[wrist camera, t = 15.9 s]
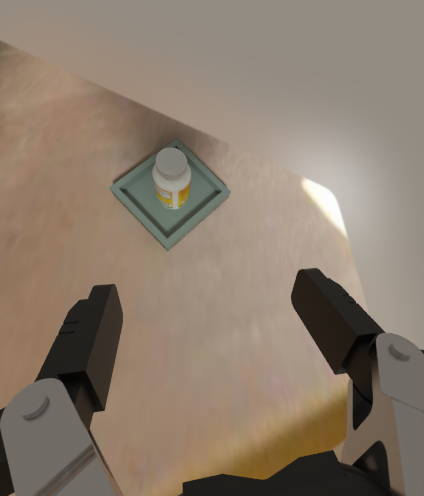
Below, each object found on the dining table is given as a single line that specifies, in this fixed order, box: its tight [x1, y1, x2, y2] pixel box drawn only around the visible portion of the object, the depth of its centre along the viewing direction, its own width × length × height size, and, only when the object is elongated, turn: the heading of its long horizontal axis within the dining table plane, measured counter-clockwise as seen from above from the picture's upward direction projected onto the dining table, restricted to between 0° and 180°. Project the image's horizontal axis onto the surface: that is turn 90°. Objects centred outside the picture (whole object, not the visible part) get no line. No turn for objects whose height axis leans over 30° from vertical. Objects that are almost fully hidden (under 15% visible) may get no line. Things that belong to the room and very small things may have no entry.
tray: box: [109, 138, 231, 251], centre depth 37 cm, size 14×13×2 cm
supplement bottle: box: [152, 148, 191, 209], centre depth 33 cm, size 5×5×10 cm
